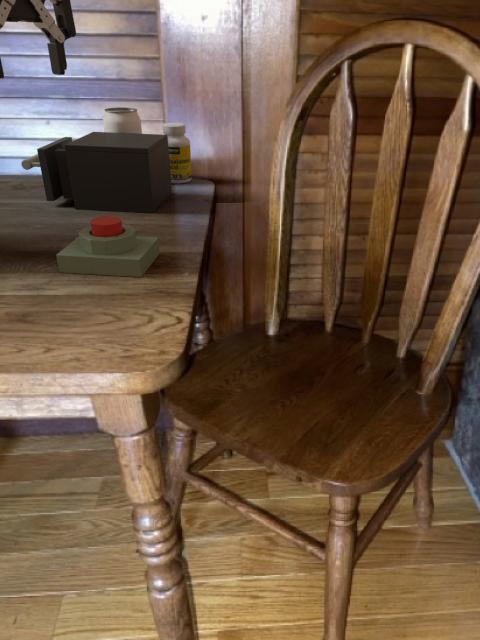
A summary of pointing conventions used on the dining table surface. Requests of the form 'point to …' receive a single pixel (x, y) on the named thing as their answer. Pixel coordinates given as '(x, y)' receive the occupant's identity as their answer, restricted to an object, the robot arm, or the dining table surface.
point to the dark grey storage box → (119, 171)
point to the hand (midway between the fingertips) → (29, 76)
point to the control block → (109, 254)
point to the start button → (106, 226)
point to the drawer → (53, 169)
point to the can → (122, 120)
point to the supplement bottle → (178, 152)
